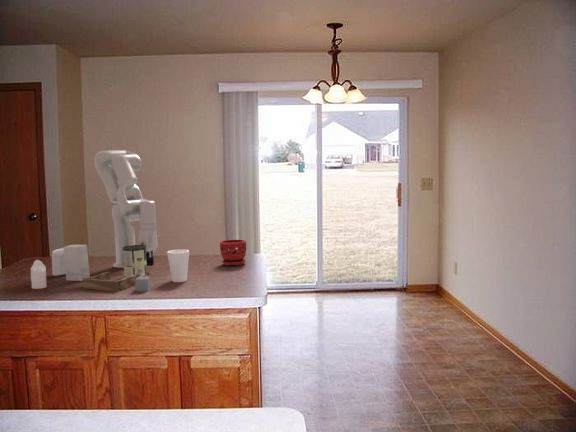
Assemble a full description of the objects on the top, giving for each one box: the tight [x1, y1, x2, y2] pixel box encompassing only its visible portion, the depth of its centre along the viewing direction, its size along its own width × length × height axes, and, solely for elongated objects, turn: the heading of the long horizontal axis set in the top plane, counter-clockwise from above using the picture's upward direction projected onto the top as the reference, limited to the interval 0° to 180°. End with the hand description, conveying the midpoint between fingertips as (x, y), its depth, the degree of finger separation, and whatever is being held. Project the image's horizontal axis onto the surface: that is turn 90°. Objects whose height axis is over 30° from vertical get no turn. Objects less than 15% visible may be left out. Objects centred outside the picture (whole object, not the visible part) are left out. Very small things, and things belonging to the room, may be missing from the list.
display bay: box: [82, 271, 140, 292], centre depth 247 cm, size 16×17×4 cm
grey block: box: [135, 276, 152, 292], centre depth 239 cm, size 5×5×5 cm
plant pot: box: [219, 239, 247, 267], centre depth 289 cm, size 13×13×12 cm
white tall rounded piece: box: [30, 259, 48, 290], centre depth 246 cm, size 6×12×6 cm
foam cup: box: [166, 249, 190, 283], centre depth 254 cm, size 10×9×13 cm
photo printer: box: [51, 247, 66, 277], centre depth 272 cm, size 10×4×12 cm, turn 123°
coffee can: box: [123, 244, 148, 278], centre depth 262 cm, size 10×10×14 cm
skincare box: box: [63, 244, 91, 282], centre depth 260 cm, size 8×7×16 cm
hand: (149, 265), depth 274 cm, fingers closed
